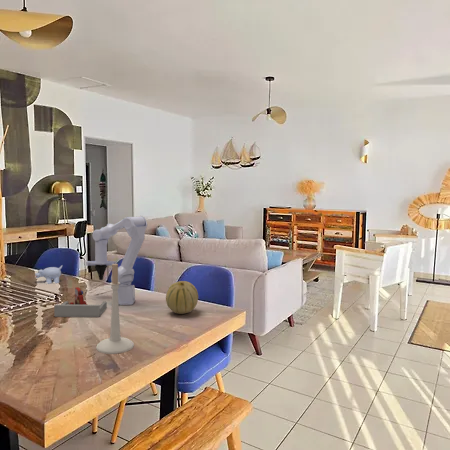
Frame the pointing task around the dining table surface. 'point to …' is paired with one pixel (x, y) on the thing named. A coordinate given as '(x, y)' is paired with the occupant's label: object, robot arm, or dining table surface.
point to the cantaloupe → (182, 297)
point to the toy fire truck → (78, 297)
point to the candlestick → (115, 324)
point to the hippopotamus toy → (50, 274)
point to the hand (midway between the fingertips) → (101, 279)
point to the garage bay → (78, 310)
